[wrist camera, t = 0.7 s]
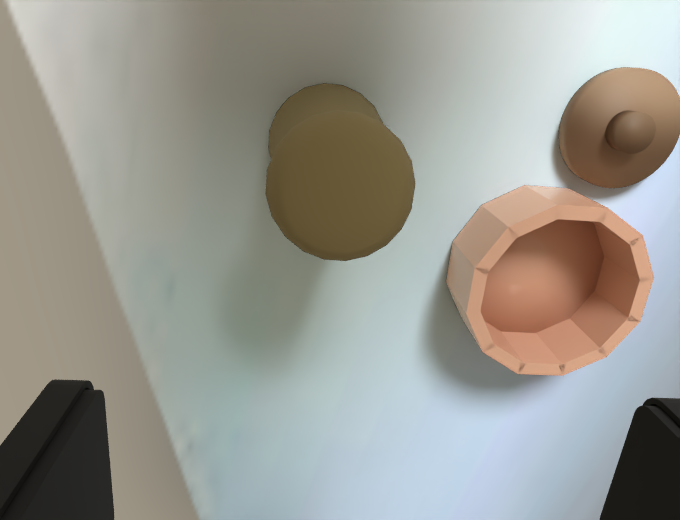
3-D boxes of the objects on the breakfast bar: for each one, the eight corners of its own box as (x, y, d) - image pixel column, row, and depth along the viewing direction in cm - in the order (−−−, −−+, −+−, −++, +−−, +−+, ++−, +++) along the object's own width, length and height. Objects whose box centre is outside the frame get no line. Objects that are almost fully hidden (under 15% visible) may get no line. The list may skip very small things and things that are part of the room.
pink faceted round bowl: (462, 180, 29) (487, 200, 25) (627, 192, 29) (674, 212, 26) (437, 334, 32) (455, 372, 28) (585, 340, 33) (622, 377, 29)
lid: (570, 63, 27) (592, 65, 25) (682, 71, 28) (712, 73, 25) (545, 179, 29) (564, 190, 27) (649, 185, 30) (674, 195, 28)
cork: (400, 101, 27) (463, 130, 17) (367, 214, 29) (405, 302, 19) (282, 68, 26) (271, 78, 16) (257, 187, 28) (232, 265, 18)
